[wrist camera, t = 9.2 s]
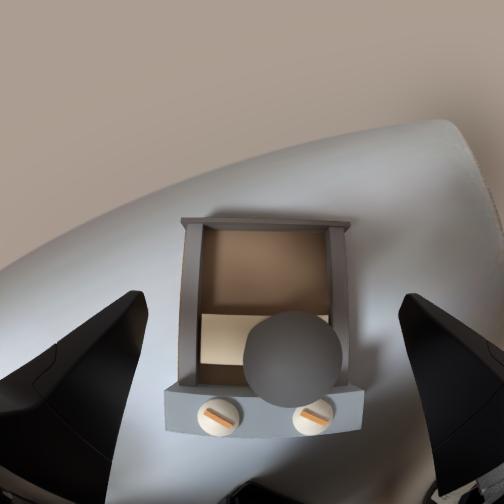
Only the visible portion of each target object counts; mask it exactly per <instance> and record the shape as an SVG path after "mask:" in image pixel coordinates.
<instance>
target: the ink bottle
mask: <svg viewBox="0 0 504 504" xmlns="http://www.w3.org/2000/svg"><path fill="white" fill-rule="evenodd" d="M476 486H477V483H476V480H475V481H473V482H471V483H469V484H467V485H465V486H463V487H461V488H459V489H457V490H455V491H453V492H451V493H449V494H447V495H444V496H442V497H440V498H439V496H438V489H437V481H436V482H435V483H434V484H433V486H432V487H431V489H430V490H429V492H428V493H427V495H426V497H425V499H424V501H423V503H422V504H458V502H459V500H460V498H461V495H463V494H464V493H466V492H468V491H469V490H471V489H473V488H474V487H476Z"/></svg>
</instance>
